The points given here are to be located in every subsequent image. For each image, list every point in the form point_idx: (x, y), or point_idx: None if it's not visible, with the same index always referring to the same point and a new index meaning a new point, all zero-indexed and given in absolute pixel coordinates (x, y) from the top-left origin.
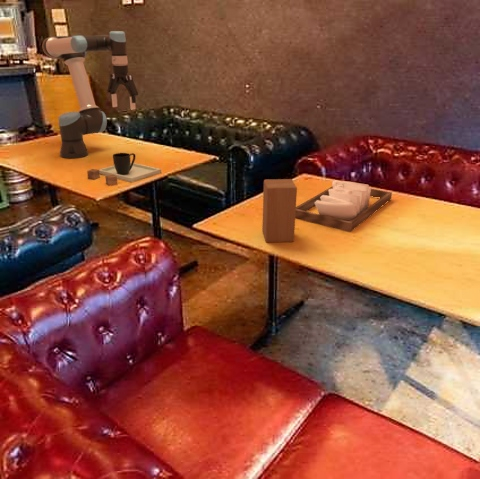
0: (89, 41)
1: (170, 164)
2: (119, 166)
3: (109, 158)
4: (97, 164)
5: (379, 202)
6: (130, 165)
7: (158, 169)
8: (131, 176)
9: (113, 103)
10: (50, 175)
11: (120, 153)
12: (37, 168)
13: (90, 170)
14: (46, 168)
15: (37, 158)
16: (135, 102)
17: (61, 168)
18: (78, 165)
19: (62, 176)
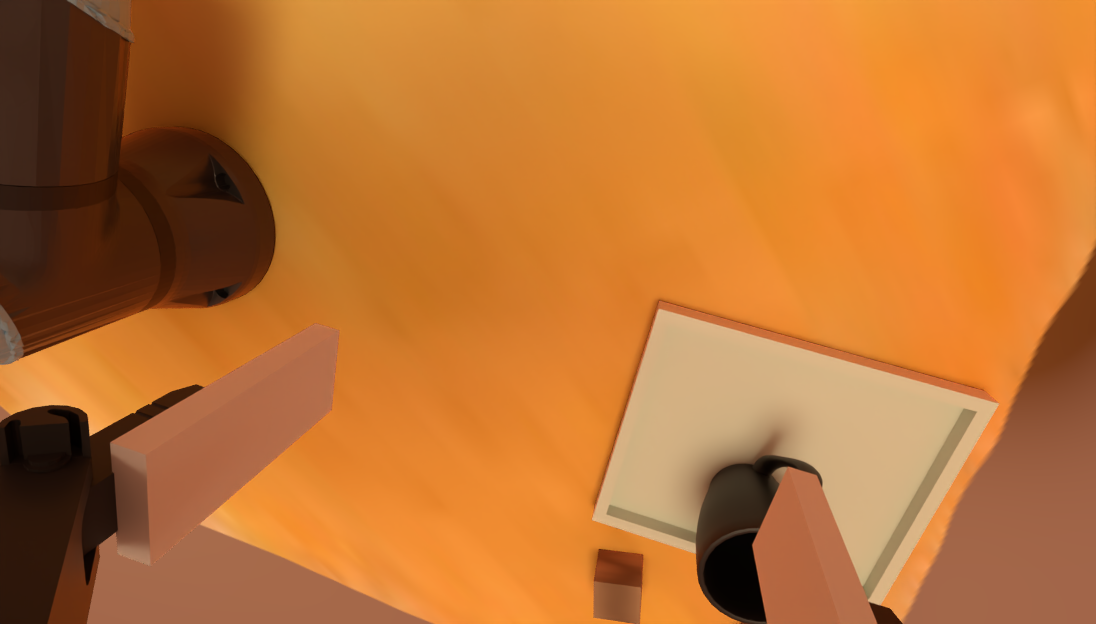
0: None
1: (978, 163)
2: None
3: (437, 197)
4: (466, 350)
5: None
6: (773, 462)
7: (982, 417)
8: None
9: (293, 437)
10: (400, 576)
11: (726, 538)
12: (261, 501)
13: (605, 607)
14: (294, 490)
15: (106, 353)
16: (895, 618)
17: (354, 472)
18: (387, 401)
19: (460, 578)
